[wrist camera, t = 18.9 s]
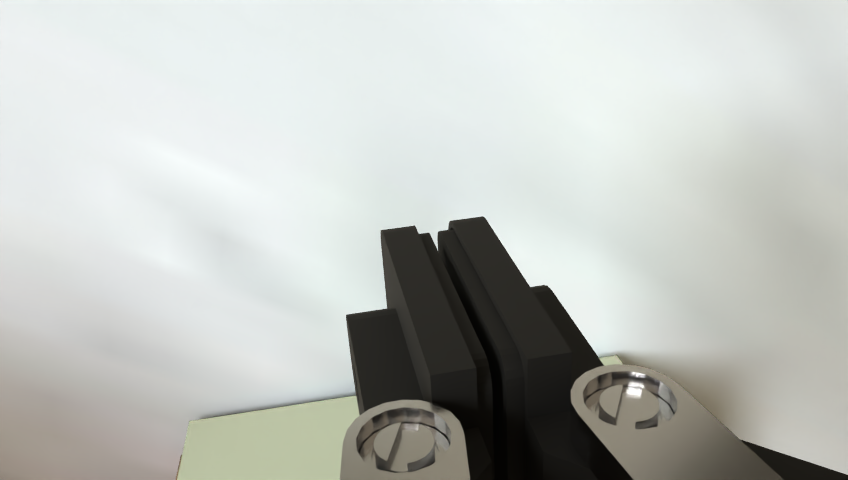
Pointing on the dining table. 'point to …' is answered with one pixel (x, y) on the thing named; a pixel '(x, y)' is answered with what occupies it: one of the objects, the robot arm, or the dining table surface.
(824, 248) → the dining table surface
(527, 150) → the dining table surface
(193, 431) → the tray
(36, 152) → the dining table surface
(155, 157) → the dining table surface
